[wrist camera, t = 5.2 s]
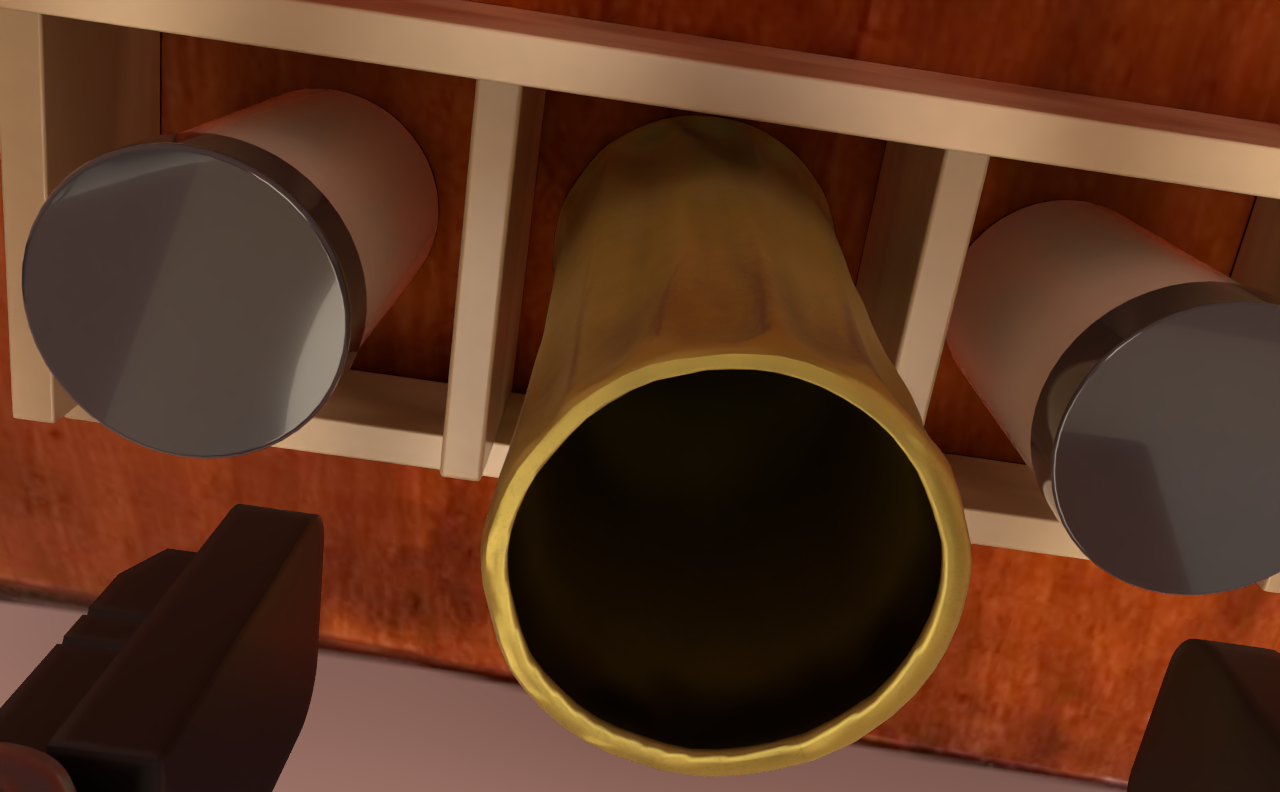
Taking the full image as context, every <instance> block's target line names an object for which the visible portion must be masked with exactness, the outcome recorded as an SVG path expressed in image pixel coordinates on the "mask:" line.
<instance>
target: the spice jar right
mask: <svg viewBox="0 0 1280 792" xmlns="http://www.w3.org/2000/svg"><path fill="white" fill-rule="evenodd" d="M946 340H947V344H948V348H949V350H950V352H951V355H952V357H953V359H954V361H955V363H956V364H957V366H958V368H959V369H960V371H961V372H962V374H963V375H964V377H965V378H966V379H967V381H968V382H969V384H970V385H971V387H972V388H973V389H974V391H975V392H976V394H977V395H978V396H979V398H980V399H981V401H982V402H983V404H984V405H985V406H986V408H987V409H988V411H989V412H990V413H991V415H992V416H993V418H994V419H995V421H996V422H997V423H998V425H999V426H1000V428H1001V429H1002V430H1003V432H1004V433H1005V435H1006V436H1007V438H1008V439H1009V440H1010V442H1011V443H1012V445H1013V446H1014V448H1015V449H1016V450H1017V452H1018V453H1019V455H1020V456H1021V457H1022V459H1023V460H1024V462H1025V463H1026V465H1027V466H1028V467H1029V469H1030V470H1031V472H1032V473H1033V474H1034V476H1035V478H1036V481H1037V483H1038V486H1039V488H1040V491H1041V493H1042V495H1043V497H1044V499H1045V501H1046V502H1047V504H1048V506H1049V507H1050V509H1051V511H1052V512H1053V513H1054V515H1055V516H1056V518H1057V519H1058V521H1059V522H1060V524H1061V525H1062V526H1063V528H1064V529H1065V531H1066V532H1067V534H1068V535H1069V537H1070V538H1071V539H1072V541H1073V542H1074V543H1075V544H1076V546H1077V547H1078V548H1079V549H1080V551H1081V552H1082V553H1083V554H1084V555H1085V556H1086V557H1087V558H1089V559H1090V560H1091V561H1092V562H1093V563H1094V564H1095V565H1096V566H1098V567H1099V568H1101V569H1102V570H1104V571H1105V572H1107V573H1108V574H1110V575H1111V576H1113V577H1115V578H1117V579H1119V580H1121V581H1124V582H1126V583H1128V584H1131V585H1134V586H1136V587H1139V588H1142V589H1145V590H1150V591H1155V592H1160V593H1165V594H1175V595H1207V594H1213V593H1220V592H1227V591H1231V590H1234V589H1238V588H1242V587H1246V586H1249V585H1251V584H1254V583H1257V582H1259V581H1262V580H1265V579H1267V578H1269V577H1271V576H1273V575H1275V574H1277V573H1279V572H1280V299H1279V298H1277V297H1275V296H1273V295H1271V294H1269V293H1266V292H1263V291H1261V290H1258V289H1255V288H1253V287H1249V286H1244V285H1242V284H1240V283H1238V282H1236V281H1235V280H1233V279H1231V278H1230V277H1228V276H1226V275H1224V274H1223V273H1221V272H1219V271H1217V270H1216V269H1214V268H1212V267H1211V266H1209V265H1207V264H1205V263H1204V262H1202V261H1200V260H1198V259H1197V258H1195V257H1193V256H1192V255H1190V254H1188V253H1186V252H1185V251H1183V250H1181V249H1179V248H1178V247H1176V246H1174V245H1173V244H1171V243H1169V242H1167V241H1166V240H1164V239H1162V238H1160V237H1159V236H1157V235H1155V234H1154V233H1152V232H1150V231H1148V230H1147V229H1145V228H1143V227H1141V226H1140V225H1138V224H1136V223H1135V222H1133V221H1131V220H1129V219H1128V218H1126V217H1124V216H1122V215H1121V214H1119V213H1117V212H1115V211H1113V210H1111V209H1109V208H1106V207H1104V206H1101V205H1098V204H1094V203H1090V202H1085V201H1076V200H1056V201H1049V202H1043V203H1038V204H1035V205H1031V206H1028V207H1025V208H1022V209H1020V210H1018V211H1016V212H1013V213H1011V214H1009V215H1008V216H1006V217H1004V218H1002V219H1001V220H999V221H997V222H996V223H995V224H993V225H992V226H991V227H990V228H988V229H987V230H986V231H984V232H983V233H982V234H981V235H980V236H979V237H978V238H977V239H976V240H975V241H974V242H973V243H972V245H971V246H970V247H969V248H968V250H967V254H966V258H965V262H964V266H963V270H962V274H961V278H960V282H959V286H958V290H957V294H956V298H955V302H954V306H953V310H952V314H951V318H950V322H949V327H948V331H947V335H946Z"/></svg>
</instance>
